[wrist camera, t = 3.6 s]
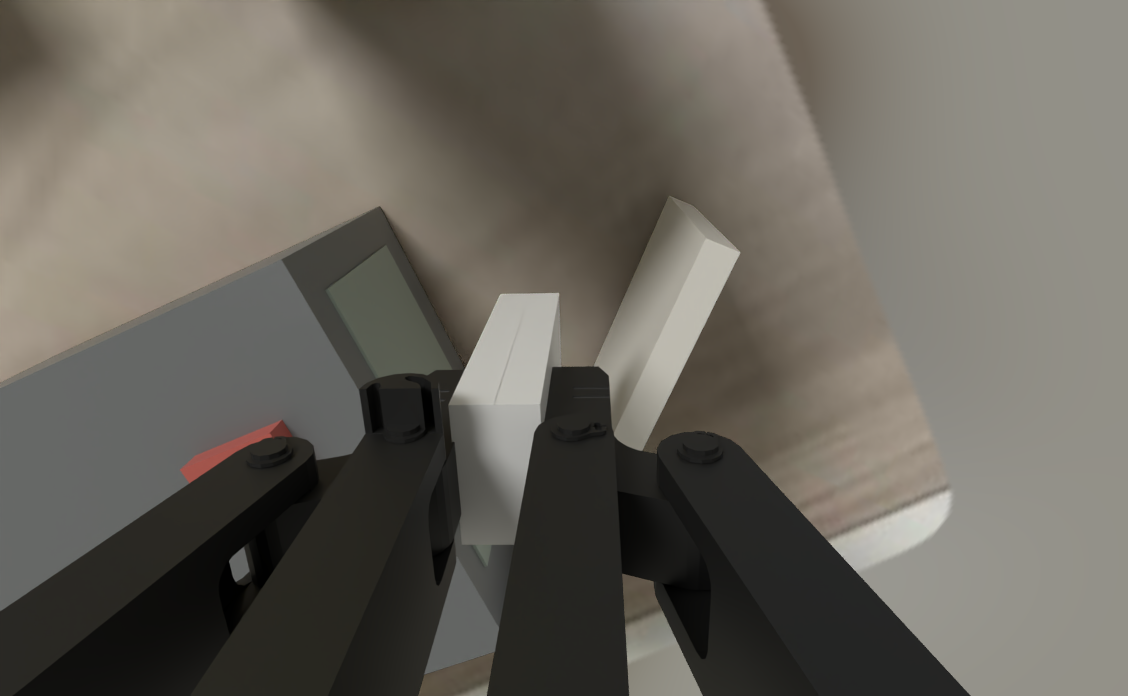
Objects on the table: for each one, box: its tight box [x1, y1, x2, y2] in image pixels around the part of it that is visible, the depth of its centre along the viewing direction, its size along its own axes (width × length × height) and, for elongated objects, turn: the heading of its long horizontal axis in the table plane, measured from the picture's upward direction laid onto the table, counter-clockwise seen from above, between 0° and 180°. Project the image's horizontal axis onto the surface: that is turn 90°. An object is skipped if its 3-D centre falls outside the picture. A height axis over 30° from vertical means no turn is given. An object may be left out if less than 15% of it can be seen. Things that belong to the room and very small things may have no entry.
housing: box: [0, 206, 514, 675], centre depth 25 cm, size 16×16×10 cm
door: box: [593, 196, 740, 451], centre depth 24 cm, size 2×14×9 cm, turn 159°
